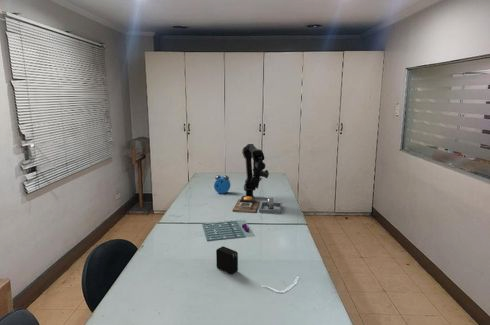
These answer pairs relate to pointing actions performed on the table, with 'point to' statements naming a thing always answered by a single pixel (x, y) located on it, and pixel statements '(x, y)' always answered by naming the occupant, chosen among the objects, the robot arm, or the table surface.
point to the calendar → (227, 230)
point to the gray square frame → (270, 209)
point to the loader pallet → (246, 205)
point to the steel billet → (270, 203)
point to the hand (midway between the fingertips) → (257, 188)
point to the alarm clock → (222, 184)
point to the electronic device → (227, 260)
